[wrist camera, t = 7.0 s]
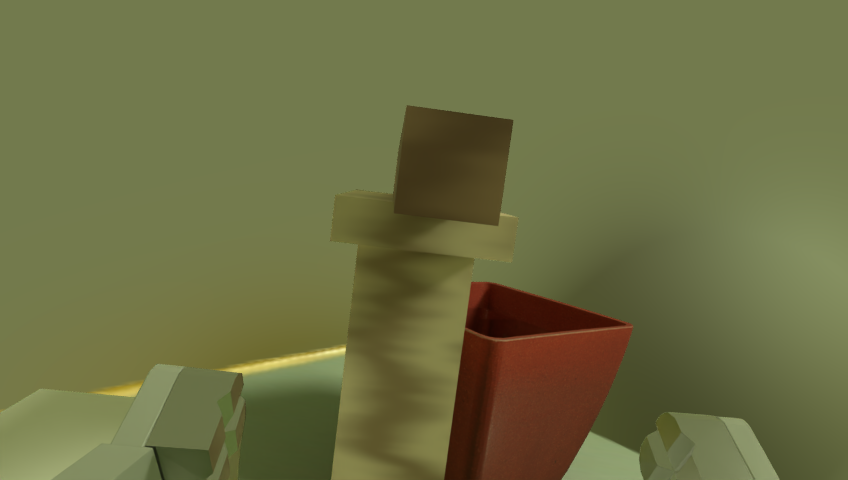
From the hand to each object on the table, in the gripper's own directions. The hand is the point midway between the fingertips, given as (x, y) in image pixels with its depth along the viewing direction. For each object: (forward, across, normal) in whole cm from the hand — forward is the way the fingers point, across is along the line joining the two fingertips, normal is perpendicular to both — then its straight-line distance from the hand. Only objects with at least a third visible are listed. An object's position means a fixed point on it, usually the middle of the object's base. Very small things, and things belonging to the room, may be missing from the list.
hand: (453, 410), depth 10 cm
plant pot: (+22, -9, +40) cm, 46 cm away
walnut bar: (+16, 0, +5) cm, 16 cm away
